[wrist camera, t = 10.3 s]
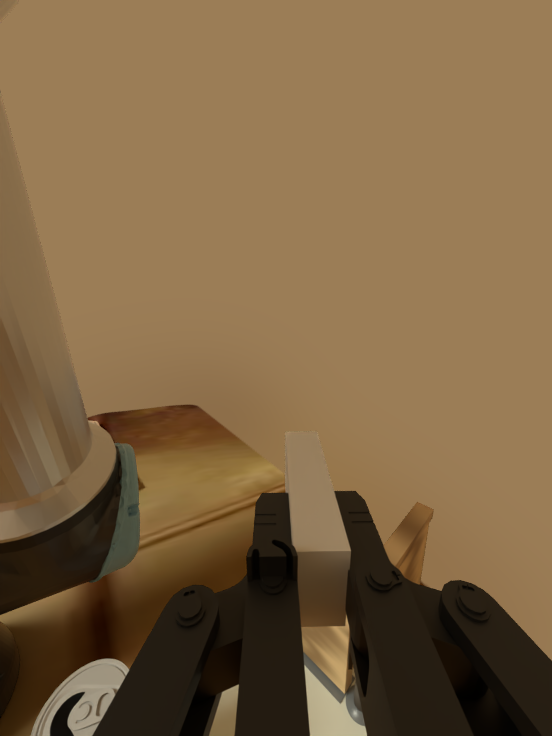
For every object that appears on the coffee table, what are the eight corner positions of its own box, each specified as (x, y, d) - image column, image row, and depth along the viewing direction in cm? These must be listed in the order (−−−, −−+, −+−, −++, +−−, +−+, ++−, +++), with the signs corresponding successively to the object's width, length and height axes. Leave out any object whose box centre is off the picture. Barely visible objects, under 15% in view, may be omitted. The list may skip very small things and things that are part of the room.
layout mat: (175, 712, 28) (175, 707, 28) (329, 551, 44) (329, 547, 44) (315, 982, 17) (315, 977, 17) (450, 637, 34) (450, 633, 33)
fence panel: (373, 700, 28) (387, 571, 24) (364, 717, 27) (377, 586, 23) (282, 612, 35) (281, 503, 31) (273, 623, 34) (270, 511, 30)
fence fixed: (378, 695, 28) (393, 569, 24) (362, 680, 30) (374, 557, 25) (416, 619, 35) (433, 509, 31) (402, 609, 36) (417, 501, 32)
